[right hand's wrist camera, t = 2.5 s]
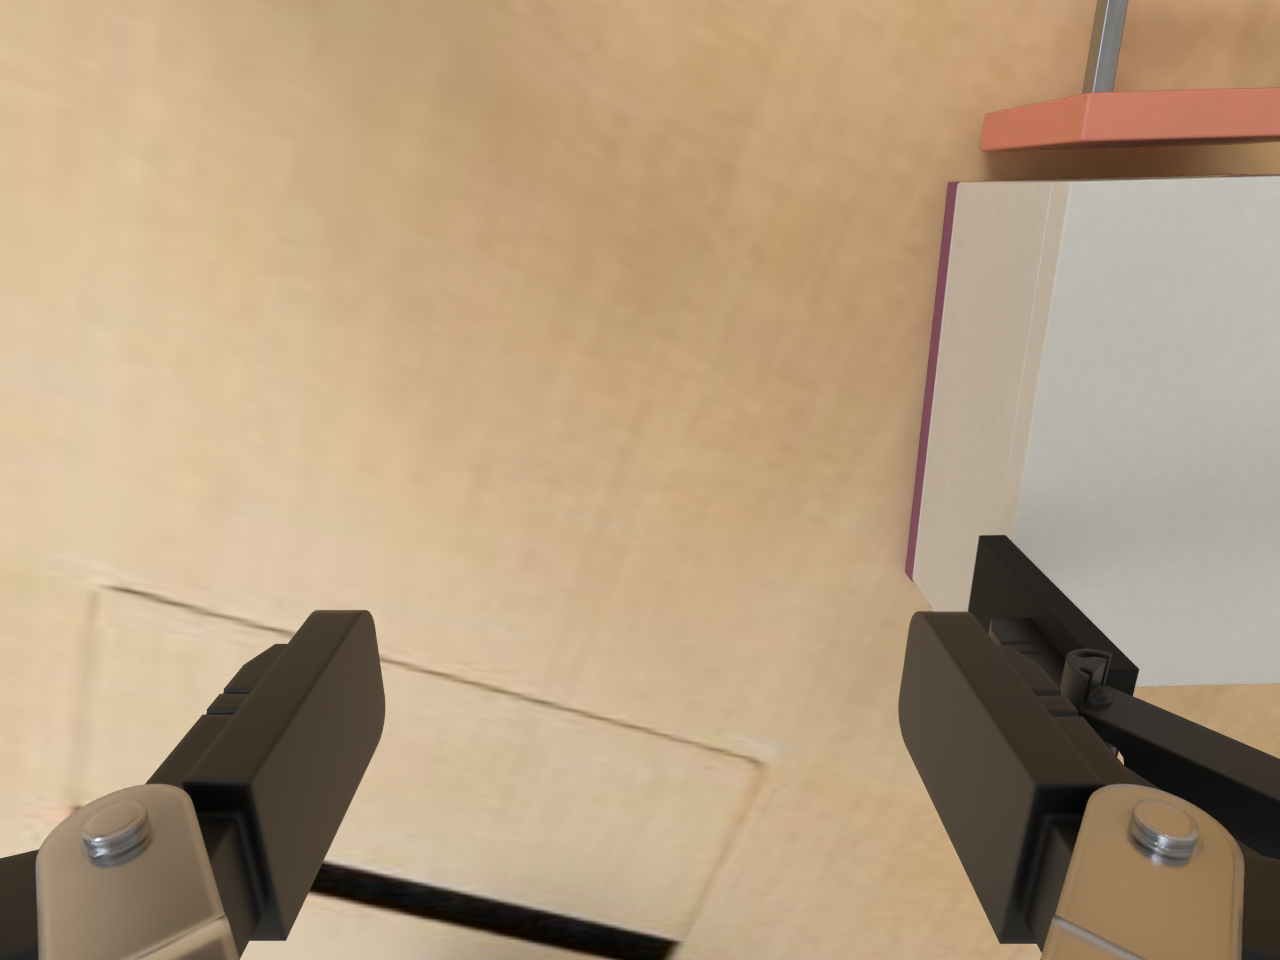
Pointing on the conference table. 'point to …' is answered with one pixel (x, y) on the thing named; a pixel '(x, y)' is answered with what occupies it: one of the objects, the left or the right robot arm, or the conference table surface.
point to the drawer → (1133, 109)
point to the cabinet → (1113, 411)
